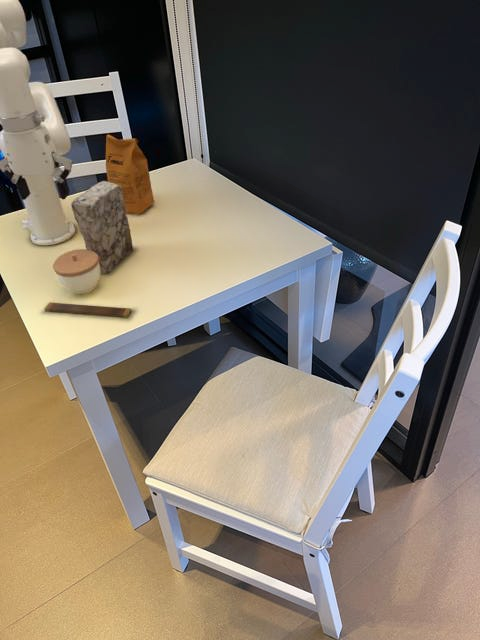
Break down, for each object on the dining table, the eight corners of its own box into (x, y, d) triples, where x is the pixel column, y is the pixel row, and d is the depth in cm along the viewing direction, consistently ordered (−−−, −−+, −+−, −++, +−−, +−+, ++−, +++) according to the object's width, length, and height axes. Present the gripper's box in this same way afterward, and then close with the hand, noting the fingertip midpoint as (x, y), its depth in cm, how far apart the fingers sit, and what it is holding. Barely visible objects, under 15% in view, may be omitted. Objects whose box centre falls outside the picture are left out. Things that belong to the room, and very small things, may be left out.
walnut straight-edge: (45, 311, 123) (44, 308, 122) (50, 304, 125) (49, 302, 124) (128, 318, 118) (127, 315, 118) (132, 311, 120) (131, 308, 120)
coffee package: (130, 196, 168) (114, 128, 154) (159, 203, 163) (146, 133, 149) (108, 209, 162) (91, 139, 148) (138, 217, 156) (123, 145, 143)
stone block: (113, 275, 132) (93, 204, 120) (89, 272, 135) (68, 201, 122) (137, 249, 142) (121, 180, 129) (115, 246, 144) (97, 178, 131)
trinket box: (94, 301, 124) (84, 268, 119) (54, 298, 127) (42, 266, 121) (112, 275, 132) (103, 244, 127) (73, 273, 135) (63, 242, 129)
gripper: (66, 114, 110) (87, 189, 121) (-9, 117, 113) (18, 190, 124) (52, 126, 105) (75, 204, 115) (-27, 129, 107) (3, 204, 118)
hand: (45, 196), depth 120 cm, fingers open, 9 cm apart
